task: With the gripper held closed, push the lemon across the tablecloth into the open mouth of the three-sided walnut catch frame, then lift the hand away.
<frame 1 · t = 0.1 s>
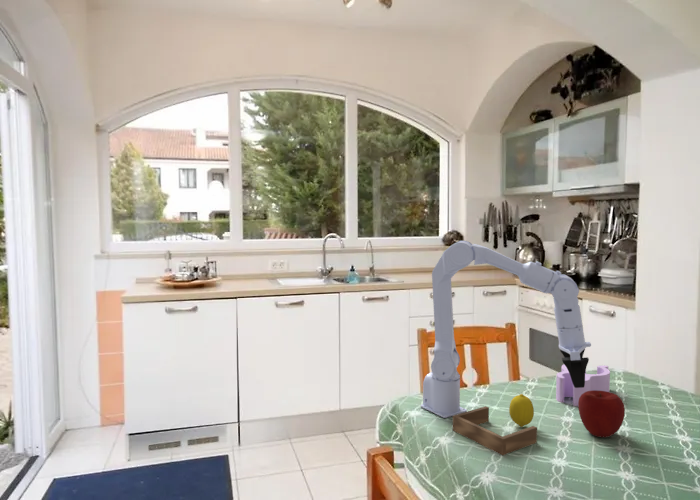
hand: (578, 382, 122), 10 cm above the table, tool pointing down, fingers open, 7 cm apart
catch frame: (494, 435, 117), on the table
clip: (581, 395, 143), on the table
lemon: (521, 427, 121), on the table
apple: (600, 434, 117), on the table
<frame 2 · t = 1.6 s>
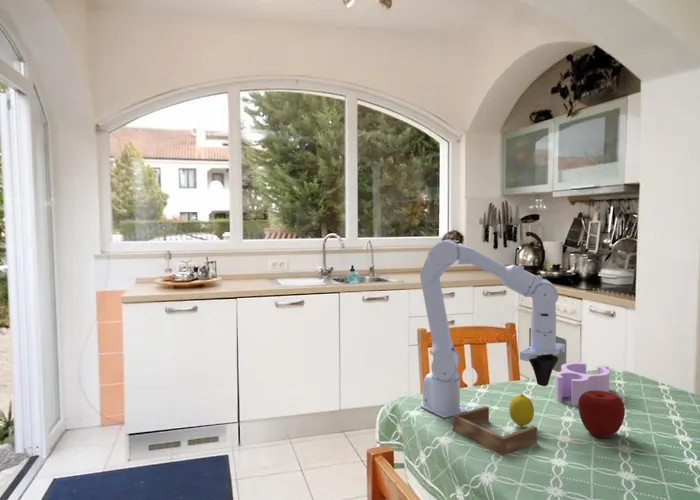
hand: (542, 384, 125), 9 cm above the table, tool pointing down, fingers closed
nothing on the table moved.
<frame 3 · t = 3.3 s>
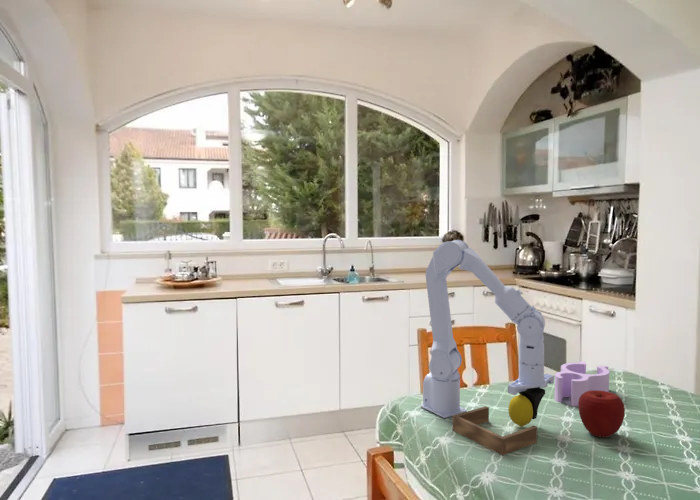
hand: (531, 417, 123), 2 cm above the table, tool pointing down, fingers closed, pressing on lemon
lemon: (521, 427, 121), on the table, touching gripper
everything else where it was.
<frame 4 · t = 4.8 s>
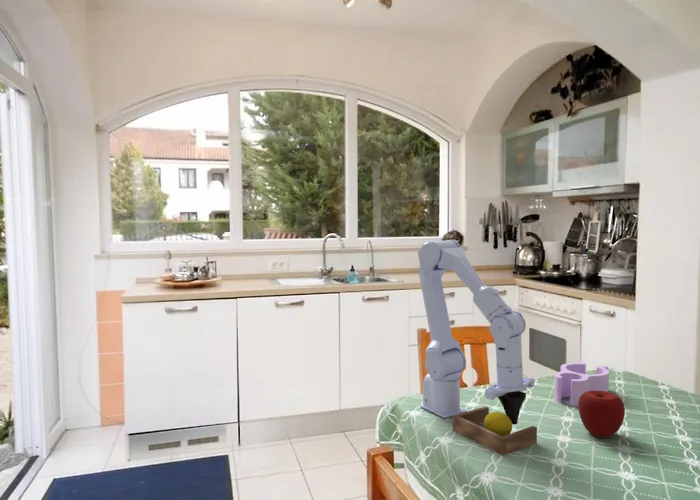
hand: (511, 423, 117), 2 cm above the table, tool pointing down, fingers closed, pressing on lemon
lemon: (508, 427, 118), point 1 cm above the table, touching gripper
everything else where it was.
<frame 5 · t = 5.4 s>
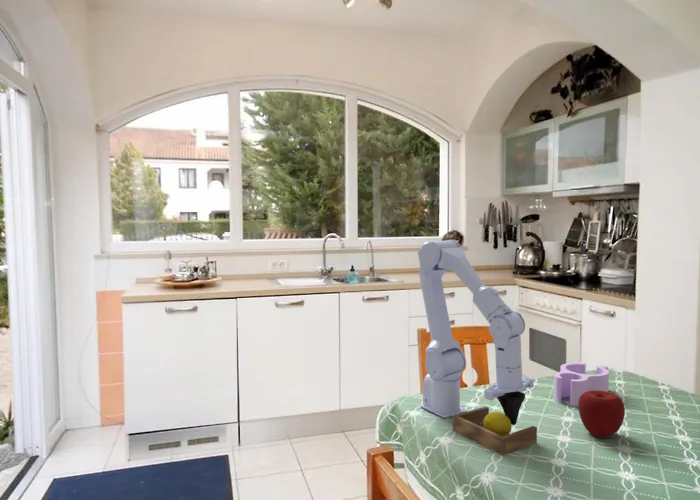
hand: (511, 423, 117), 2 cm above the table, tool pointing down, fingers closed, pressing on lemon
lemon: (507, 427, 118), point 1 cm above the table, touching gripper
everything else where it was.
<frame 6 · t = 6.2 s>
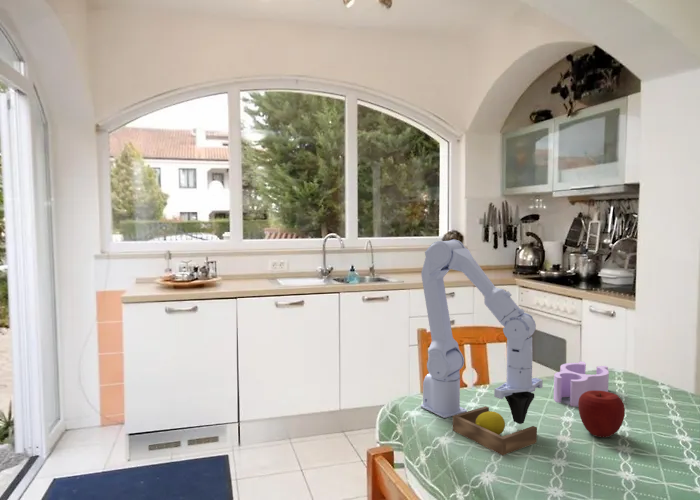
hand: (518, 422, 121), 1 cm above the table, tool pointing down, fingers closed
lemon: (504, 422, 118), point 2 cm above the table, touching catch frame
everything else where it was.
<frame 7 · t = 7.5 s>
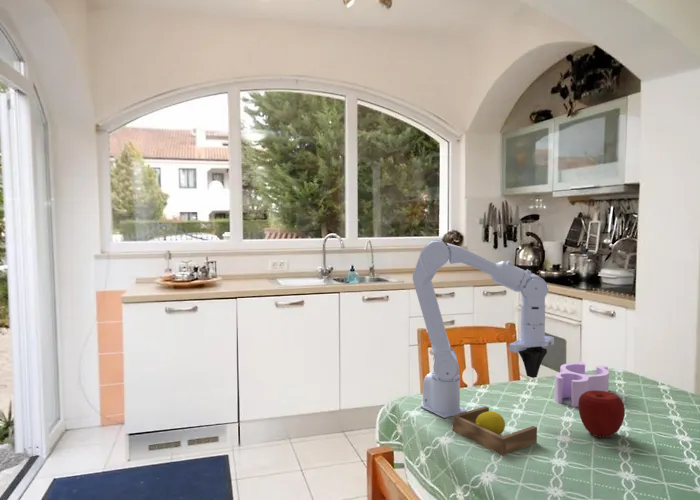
hand: (531, 376, 128), 10 cm above the table, tool pointing down, fingers closed
nothing on the table moved.
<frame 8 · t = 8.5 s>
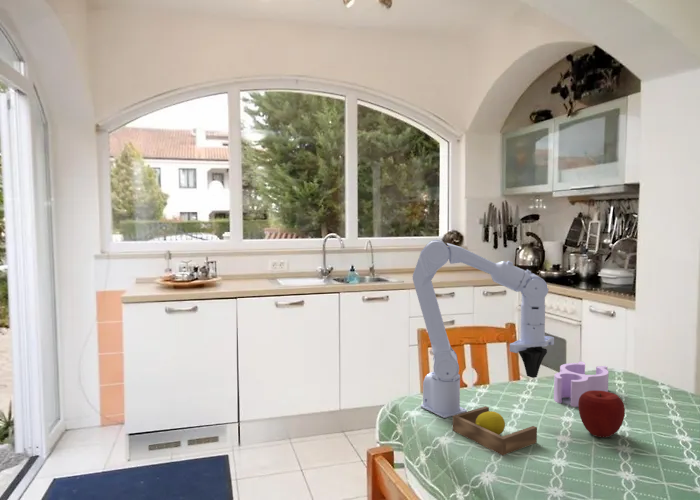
hand: (531, 376, 128), 10 cm above the table, tool pointing down, fingers closed
nothing on the table moved.
at the end: lemon inside the target area on the catch frame (3.2 cm from its centre), point 2.4 cm above the catch frame's base; lemon moved 6.3 cm from its start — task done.
